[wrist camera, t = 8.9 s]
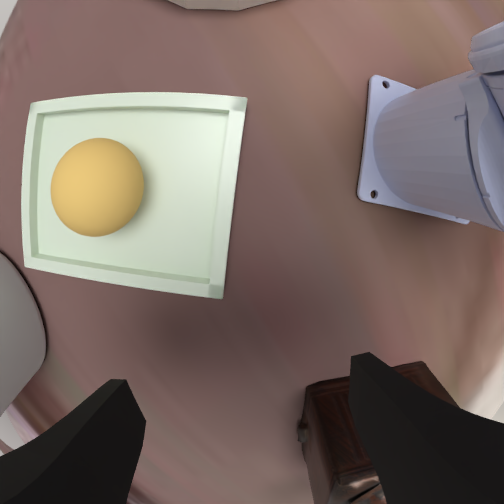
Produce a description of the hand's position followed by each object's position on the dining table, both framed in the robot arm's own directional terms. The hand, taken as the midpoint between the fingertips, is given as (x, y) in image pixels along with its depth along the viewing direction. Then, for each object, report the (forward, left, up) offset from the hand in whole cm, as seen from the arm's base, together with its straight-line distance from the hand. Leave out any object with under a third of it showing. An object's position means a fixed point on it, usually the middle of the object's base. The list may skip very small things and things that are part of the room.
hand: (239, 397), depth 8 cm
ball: (+8, -5, -7) cm, 12 cm away
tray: (+8, -5, -10) cm, 14 cm away
